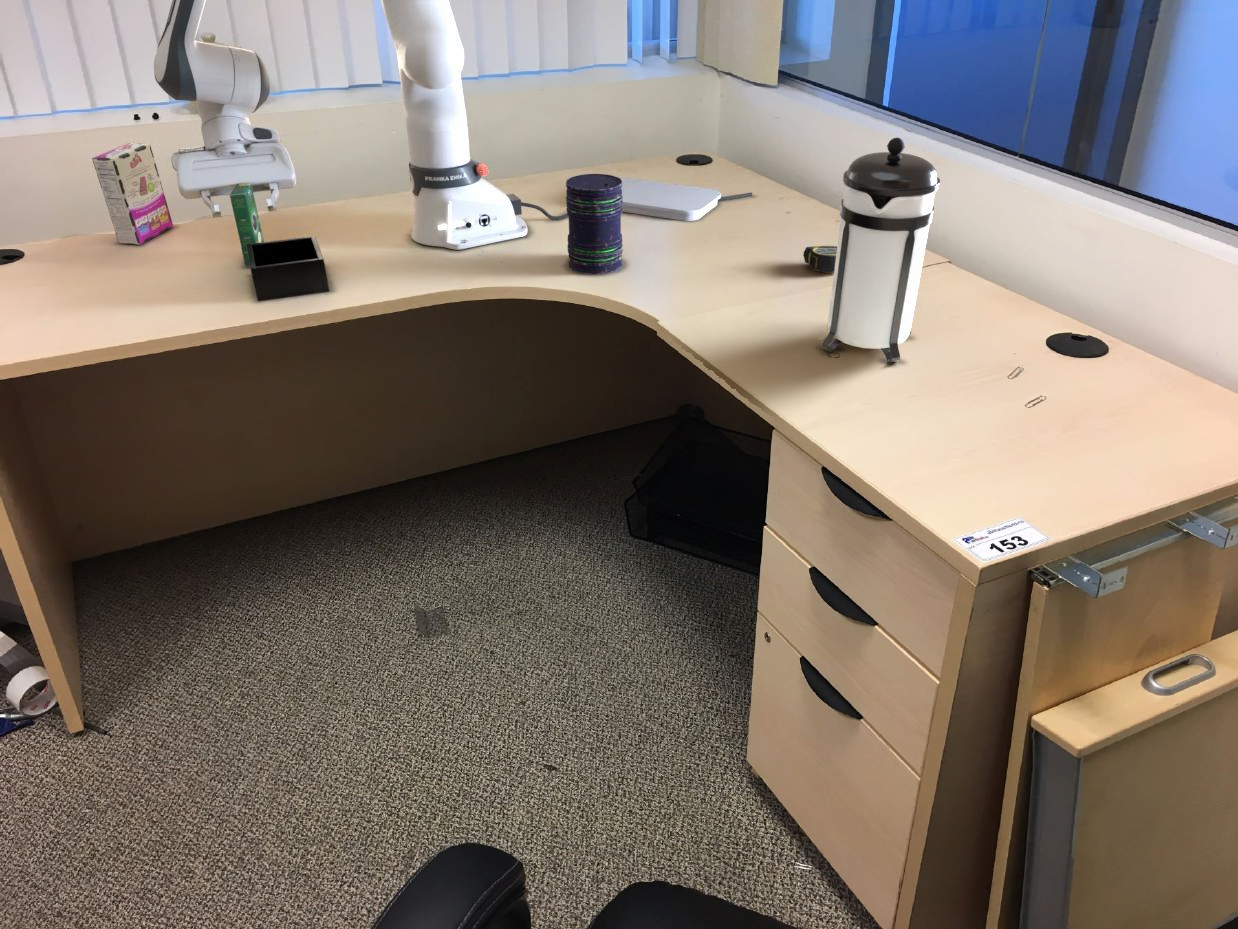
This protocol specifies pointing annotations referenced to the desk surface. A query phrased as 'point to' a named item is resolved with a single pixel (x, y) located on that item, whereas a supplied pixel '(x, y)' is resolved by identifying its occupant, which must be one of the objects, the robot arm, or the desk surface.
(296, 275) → the desk tray
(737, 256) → the desk surface
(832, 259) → the tape measure
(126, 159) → the candy bar box
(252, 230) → the coffee box
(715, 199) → the tablet
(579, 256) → the storage jar
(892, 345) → the coffee press
